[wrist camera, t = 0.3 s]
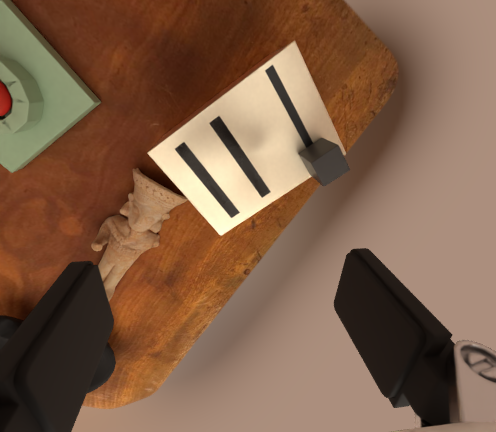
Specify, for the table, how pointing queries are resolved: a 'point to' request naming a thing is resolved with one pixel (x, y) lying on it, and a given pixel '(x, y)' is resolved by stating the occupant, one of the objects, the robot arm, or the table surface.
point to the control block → (35, 91)
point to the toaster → (247, 140)
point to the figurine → (133, 228)
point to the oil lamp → (5, 327)
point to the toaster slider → (324, 161)
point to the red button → (4, 100)
